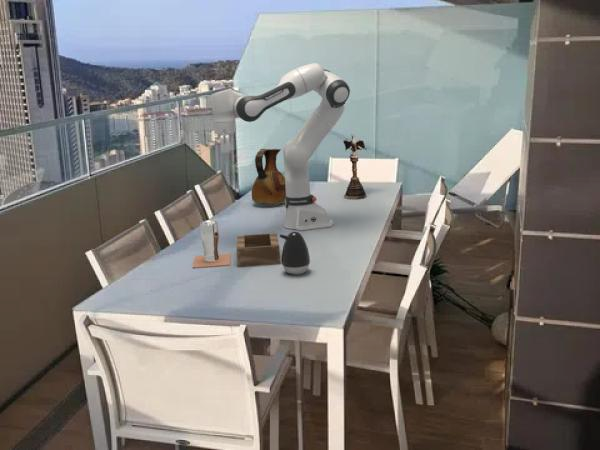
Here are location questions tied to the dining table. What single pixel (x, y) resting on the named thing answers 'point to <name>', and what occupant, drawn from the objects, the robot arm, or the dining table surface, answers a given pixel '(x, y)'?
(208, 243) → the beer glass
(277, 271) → the dining table surface
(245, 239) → the walnut box
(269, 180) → the ceramic pitcher
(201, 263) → the terracotta mat
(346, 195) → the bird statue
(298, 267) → the pump dispenser
